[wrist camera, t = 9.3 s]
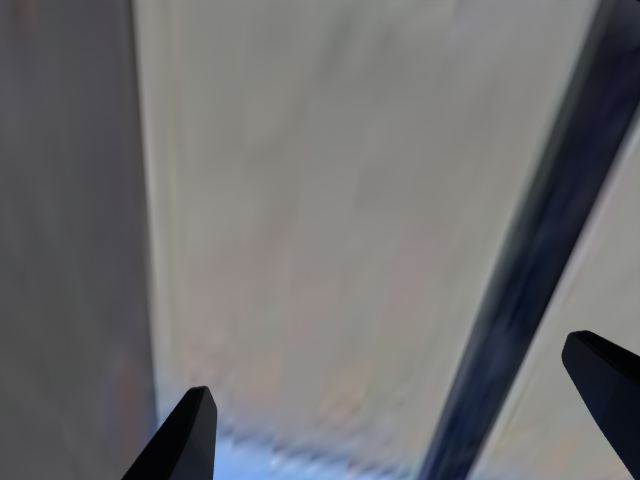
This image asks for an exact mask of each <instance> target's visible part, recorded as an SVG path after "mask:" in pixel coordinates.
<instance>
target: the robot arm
mask: <svg viewBox="0 0 640 480" xmlns="http://www.w3.org/2000/svg"><path fill="white" fill-rule="evenodd" d="M637 1H638V2H640V0H637ZM562 362H563V364H564V367H565V368H566V370H567V372H568V374H569V375H570V377H571V379H572V381H573V383H574V384H575V386H576V388H577V390H578V392H579V393H580V395H581V397H582V399H583V401H584V402H585V404H586V406H587V408H588V410H589V411H590V413H591V415H592V417H593V418H594V420H595V422H596V423H597V425H598V426H599V428H600V430H601V431H602V433H603V434H604V436H605V437H606V439H607V440H608V441H609V443H610V444H611V446H612V447H613V449H614V450H615V452H616V453H617V455H618V456H619V457H620V459H621V460H622V462H623V463H624V465H625V466H626V468H627V469H628V471H629V472H630V474H631V475H632V476H633V478H634V479H635V480H640V356H638V355H636V354H634V353H632V352H630V351H628V350H626V349H624V348H622V347H620V346H618V345H617V344H615V343H613V342H611V341H609V340H607V339H605V338H603V337H601V336H599V335H597V334H595V333H593V332H591V331H587V330H583V331H576V332H571V333H569V334H568V336H567V339H566V342H565V345H564V348H563V351H562ZM216 427H217V407H216V404H215V402H214V399H213V397H212V395H211V392H210V390H209V388H208V387H207V386H199V387H193V388H190V389H189V390H188V391H187V392H186V394H185V395H184V396H183V398H182V399H181V400H180V402H179V403H178V404H177V406H176V407H175V408H174V410H173V411H172V412H171V414H170V415H169V416H168V418H167V419H166V420H165V422H164V423H163V424H162V426H161V427H160V428H159V430H158V431H157V432H156V434H155V435H154V436H153V438H152V439H151V440H150V442H149V443H148V444H147V446H146V447H145V448H144V450H143V451H142V452H141V454H140V455H139V456H138V458H137V459H136V460H135V462H134V463H133V464H132V466H131V467H130V468H129V470H128V471H127V472H126V474H125V475H124V476H123V478H122V479H121V480H213V472H214V457H215V442H216Z"/></svg>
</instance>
